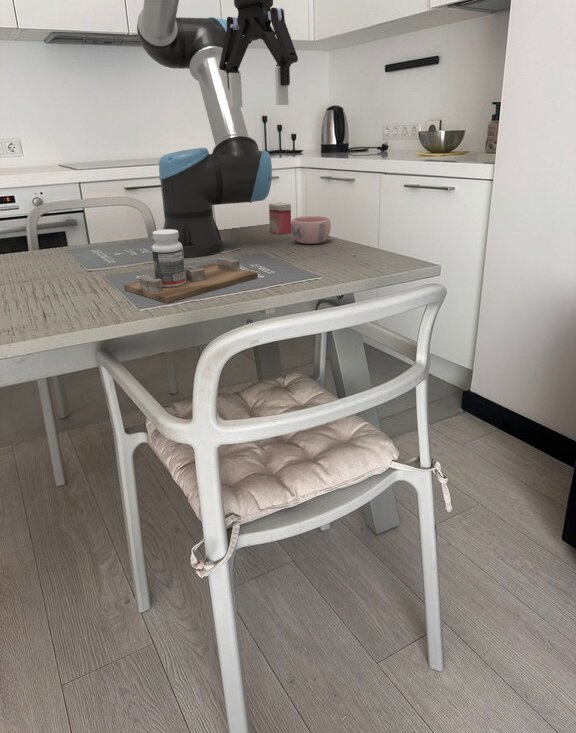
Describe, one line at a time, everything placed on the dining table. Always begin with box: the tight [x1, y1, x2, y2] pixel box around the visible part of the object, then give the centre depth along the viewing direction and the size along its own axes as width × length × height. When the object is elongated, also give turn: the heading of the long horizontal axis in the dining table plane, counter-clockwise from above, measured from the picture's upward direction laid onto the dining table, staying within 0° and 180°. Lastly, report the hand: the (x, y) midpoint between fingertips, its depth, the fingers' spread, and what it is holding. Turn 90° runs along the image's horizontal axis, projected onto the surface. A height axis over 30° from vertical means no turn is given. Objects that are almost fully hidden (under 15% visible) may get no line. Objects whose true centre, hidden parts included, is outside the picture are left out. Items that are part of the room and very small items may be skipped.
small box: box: [268, 202, 292, 235], centre depth 159 cm, size 5×4×8 cm
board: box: [123, 257, 258, 304], centre depth 112 cm, size 14×22×3 cm, turn 136°
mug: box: [291, 215, 332, 245], centre depth 146 cm, size 12×10×6 cm
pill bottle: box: [151, 229, 186, 287], centre depth 108 cm, size 6×6×10 cm
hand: (258, 106), depth 117 cm, fingers open, 13 cm apart
